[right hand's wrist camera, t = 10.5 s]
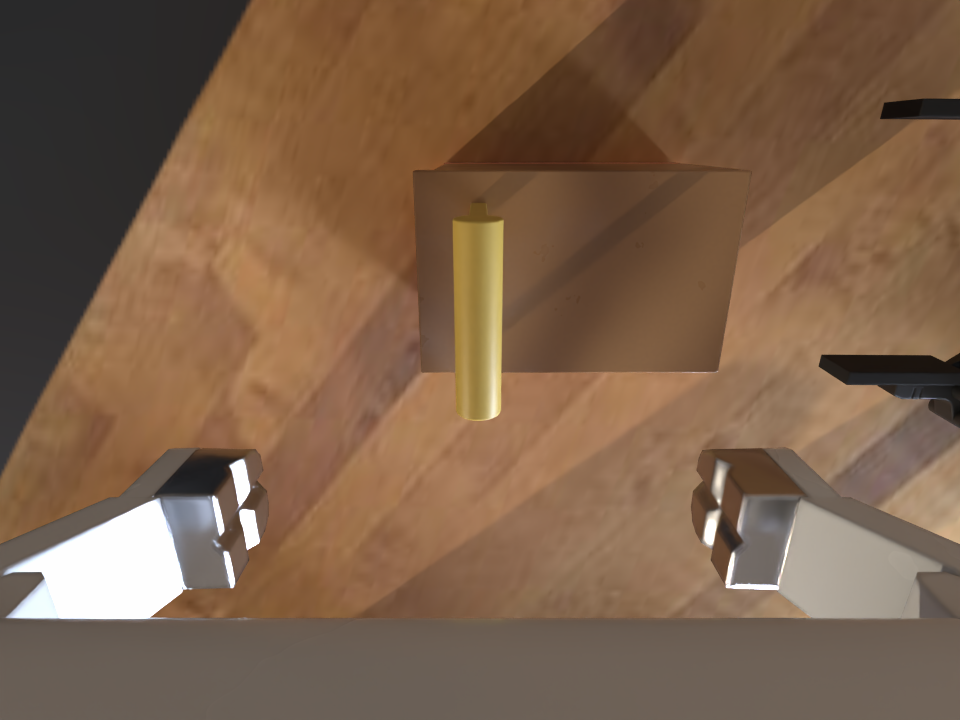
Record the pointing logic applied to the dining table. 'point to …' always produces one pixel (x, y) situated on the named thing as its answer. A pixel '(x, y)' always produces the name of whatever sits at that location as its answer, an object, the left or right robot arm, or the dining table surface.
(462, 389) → the lid
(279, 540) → the dining table surface
